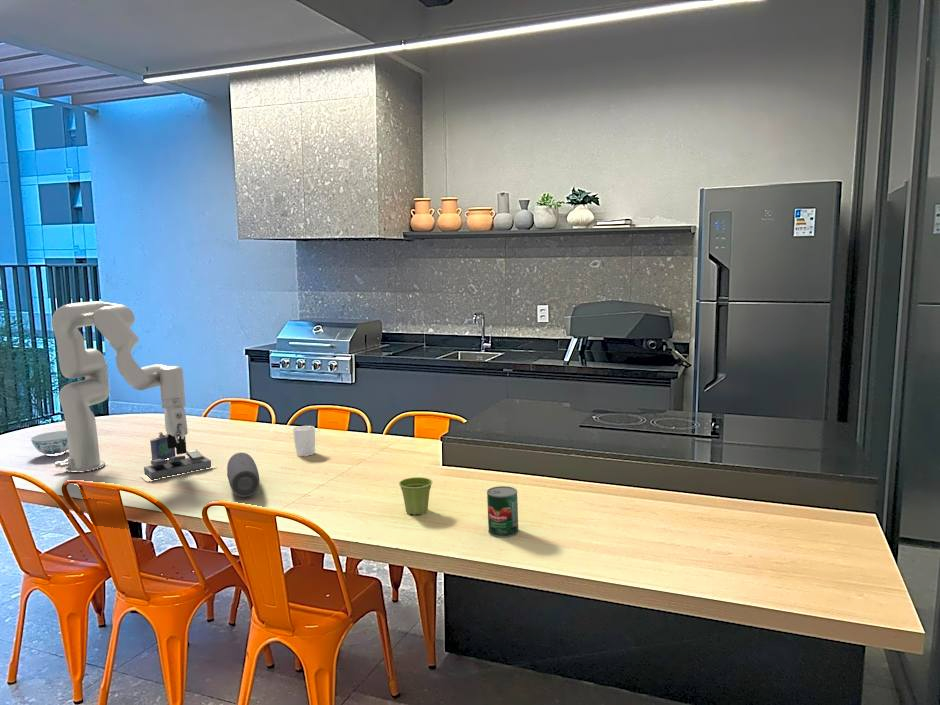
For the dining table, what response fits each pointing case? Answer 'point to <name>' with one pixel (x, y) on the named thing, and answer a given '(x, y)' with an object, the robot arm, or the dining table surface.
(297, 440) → the white cup
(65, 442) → the chinaware
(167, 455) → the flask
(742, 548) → the dining table surface
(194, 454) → the rocker right
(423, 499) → the plant pot
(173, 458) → the rocker middle
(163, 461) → the rocker left
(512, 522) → the canned tomato
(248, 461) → the bluetooth speaker
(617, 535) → the dining table surface
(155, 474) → the power strip
